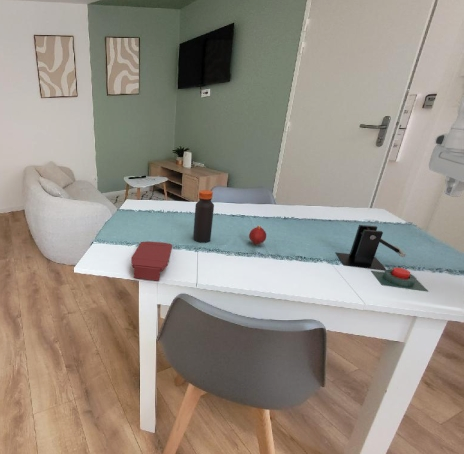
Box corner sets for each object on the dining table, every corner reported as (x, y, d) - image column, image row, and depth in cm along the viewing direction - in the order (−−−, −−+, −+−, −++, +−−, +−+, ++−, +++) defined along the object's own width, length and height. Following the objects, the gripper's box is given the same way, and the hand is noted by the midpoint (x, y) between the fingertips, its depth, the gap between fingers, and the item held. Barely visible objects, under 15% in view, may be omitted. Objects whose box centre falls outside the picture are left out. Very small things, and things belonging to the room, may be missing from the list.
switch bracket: (374, 259, 97) (386, 224, 92) (386, 273, 90) (400, 236, 85) (334, 255, 101) (344, 221, 96) (342, 268, 94) (354, 232, 89)
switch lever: (393, 251, 93) (400, 246, 92) (401, 259, 89) (409, 253, 87) (358, 230, 94) (365, 225, 93) (364, 237, 90) (371, 231, 89)
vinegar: (191, 236, 122) (194, 189, 114) (207, 235, 121) (212, 189, 113) (195, 243, 115) (199, 194, 107) (212, 242, 115) (217, 194, 107)
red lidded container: (141, 252, 118) (127, 276, 95) (141, 240, 117) (128, 262, 94) (171, 255, 114) (165, 281, 91) (172, 243, 113) (166, 267, 90)
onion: (249, 240, 115) (252, 221, 112) (265, 243, 112) (269, 224, 109) (246, 245, 111) (249, 226, 108) (263, 249, 108) (266, 229, 105)
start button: (404, 273, 85) (406, 268, 84) (411, 280, 82) (413, 275, 81) (388, 271, 86) (390, 266, 85) (394, 278, 83) (396, 273, 82)
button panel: (411, 279, 87) (415, 270, 85) (426, 294, 80) (431, 285, 79) (369, 273, 90) (372, 265, 89) (380, 288, 83) (384, 279, 82)
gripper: (529, 146, 60) (499, 209, 66) (463, 135, 78) (444, 185, 83) (486, 147, 63) (461, 207, 68) (432, 136, 80) (415, 185, 85)
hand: (451, 195), depth 76 cm, fingers closed
